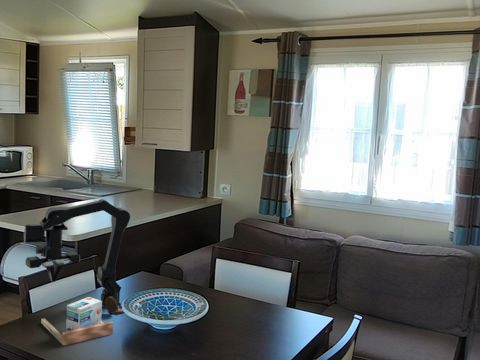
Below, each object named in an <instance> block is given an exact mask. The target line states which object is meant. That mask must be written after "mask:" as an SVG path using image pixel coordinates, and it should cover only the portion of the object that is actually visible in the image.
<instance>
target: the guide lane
mask: <svg viewBox="0 0 480 360" xmlns="http://www.w3.org/2000/svg"><path fill="white" fill-rule="evenodd" d="M40 323H41V325H43V327H44V328H46V329H47V330H48V332H49V333H50V334H51V335H53V337H54V338H55V339H56V340H57V341H58V343H60V344H61V346H67V345H73V344H76V343H80V342H84V341H88V340H93V339H98V338H100V337H104V336H105V337H106V336H109V335H113V334H114V322H113V321H111V320H110V321H107V322H104V321H103V320H101V324H97V325H93V326H88V327H84V328H79V329H75V330H70V331H66V330H65V331H62V332H61V333H60V332H59V331H58V330H57V329H56V328H55V327H54V326H53V324H51V323H50V322H49V321H48V320H47V319H46V318H45V317H44V318H41V321H40Z"/></svg>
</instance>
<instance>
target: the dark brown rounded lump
mask: <svg viewBox="0 0 480 360" xmlns="http://www.w3.org/2000/svg"><path fill="white" fill-rule="evenodd" d="M104 305H105V307H104V308H105V309H106V310H107V312H109V313H110V314H113V315H122V314H124V313H123V311H122V307H123V306H122V305H120V306H118V304H117V301H116V300H115V299H114V298H113V296H112V297H107V298H106V299H105V301H104Z"/></svg>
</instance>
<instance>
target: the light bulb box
mask: <svg viewBox="0 0 480 360" xmlns="http://www.w3.org/2000/svg"><path fill="white" fill-rule="evenodd" d="M102 308H103V305H102V301H101V299H97V298H93V297H91V296H88V297H85V298H82V299H80V300H77V301H75V302H72V303H69V304H67V305H66V320H65V321H66V322H65V323H66V326H65V329H66V330H65V332H66V331H70V330H75V329H79V328H84V327H88V326H93V325H97V324H101V321H102V314H103V311H102V310H103V309H102Z"/></svg>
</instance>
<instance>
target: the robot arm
mask: <svg viewBox="0 0 480 360" xmlns="http://www.w3.org/2000/svg"><path fill="white" fill-rule="evenodd" d="M98 212H105V213H107V214H108V215H110V216H111V219H110V220H111V221H110V223H111V233H110V235H109V237H110V238H109V240H108V246H107V251H106V255H105V259H104V263H103V264H102V266H98V268H97V273H96V275H95V277H96V278H97V282H98V283H99V285H100V286H101V287H102V288H103V289H102V290H101V293H100V301H102V307H104V308H106V307H105V305H104V301H105V299H106V298H107V297H112V296H113V298H114V299H115V300H116V301H117V304H118V306H122V303H121V302H120V293H121V290H122V286H121V285H120V284H119V283H118V282H117V280H116V279H117V270H116V264H117V261H118V256H119V252H120V246H121V243H122V239H123V238H122V237H123V233H124V232H125V230H126V228H127V227H128V224H129V223H130V220H131V215H130V212H129V211H128V210H126V209H125V208H123V207H116V206H115V205H113V204H111V203H110V202H109V201H108V200H107V199H105V198H101V199H98V200H95V201H92V202H85V203H81V204H77V205H73V206H57V207H50V208H48V209H47V210H46V212H45V215H44V217H43V218H42V220H41V221H40V222H39V224H30V223H29V224H25V226H24V231H23V242H24V244H36V243H38V244H39V243H42V242H43V241H45V243H44V246H43V245H40V244H39V245H35V254H36V255H37V256H36V255H35V256H28V257H26V259H25V262H24V263H25V265H26V267H28V268H29V269H36V268H40V267H41V266H42V267H44V268H45V269H46V271H47V273H48V275H49V278H50V281H51V282H52V283H54V282H55V281H56V279H57V278H58V275H59V273H60V272H61V270H62V269H63V267H65V266H66V264H65V261H70V262H72V263H73V264H74V263H80V262H81V255H80V254H78V253H77V252H75V251H69V252H65V253H64V255H62V250H63V248H64V245H63V231H67V230H68V229H69V228H68V227H67V226H66V225H65V223H66V222H67V221H69V220H71V219H73V218H77V217H81V216H86V215H89V214H93V213H98ZM38 255H40V257H42V258H40V257H38Z"/></svg>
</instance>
